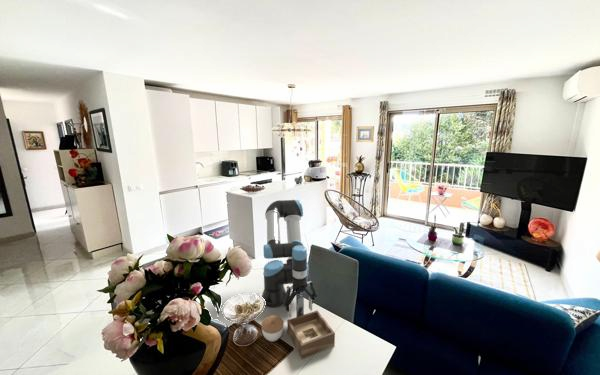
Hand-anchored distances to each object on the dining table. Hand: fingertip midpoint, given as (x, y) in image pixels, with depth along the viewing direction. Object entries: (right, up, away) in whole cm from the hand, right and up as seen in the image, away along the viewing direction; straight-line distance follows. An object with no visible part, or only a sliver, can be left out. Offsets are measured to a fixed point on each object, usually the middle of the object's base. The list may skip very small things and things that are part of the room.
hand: (300, 312), depth 133 cm
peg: (0, -4, +1) cm, 4 cm away
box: (+5, -7, -12) cm, 15 cm away
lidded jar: (-13, -7, -10) cm, 18 cm away
